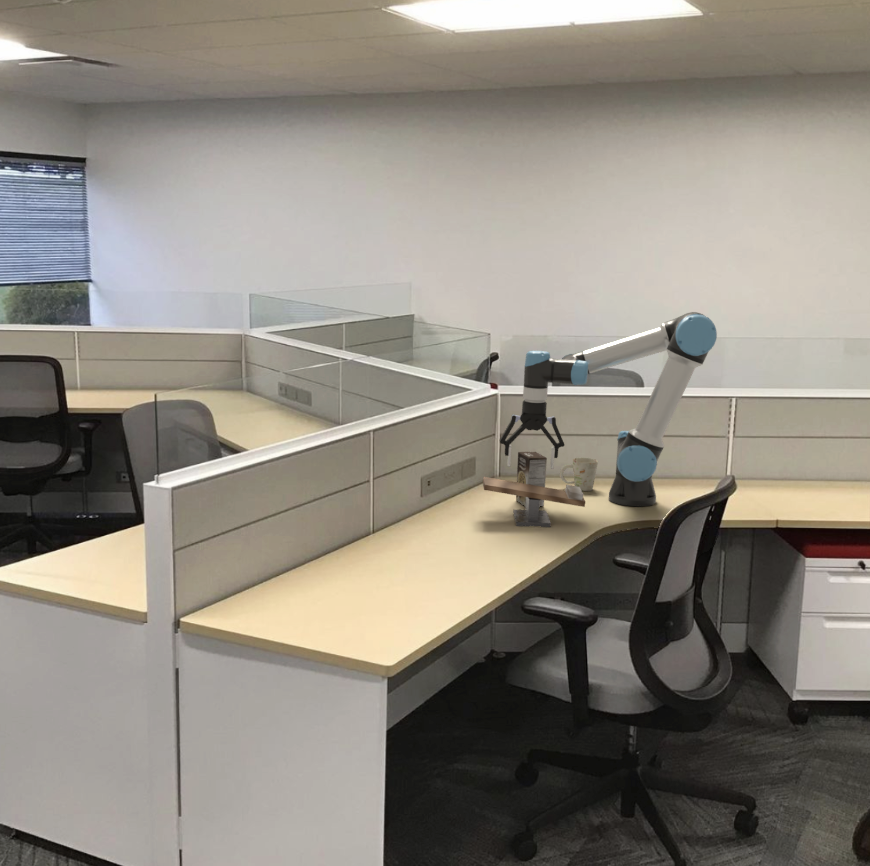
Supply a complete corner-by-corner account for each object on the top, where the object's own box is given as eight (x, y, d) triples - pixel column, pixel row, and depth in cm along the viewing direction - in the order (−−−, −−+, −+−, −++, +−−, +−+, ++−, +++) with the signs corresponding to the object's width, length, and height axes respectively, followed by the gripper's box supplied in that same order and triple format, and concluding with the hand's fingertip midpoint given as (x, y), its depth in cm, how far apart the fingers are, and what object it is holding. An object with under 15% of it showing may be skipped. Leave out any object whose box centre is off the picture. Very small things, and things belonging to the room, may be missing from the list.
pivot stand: (545, 514, 307) (547, 490, 306) (550, 527, 294) (551, 502, 292) (513, 513, 307) (514, 489, 306) (516, 526, 294) (517, 500, 292)
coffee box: (514, 500, 323) (517, 451, 319) (533, 499, 324) (535, 451, 321) (525, 508, 314) (528, 457, 311) (544, 507, 316) (547, 457, 313)
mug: (597, 492, 337) (599, 463, 335) (560, 491, 337) (561, 462, 335) (594, 486, 345) (596, 458, 343) (557, 485, 345) (559, 456, 343)
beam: (580, 498, 304) (582, 486, 304) (584, 506, 294) (586, 495, 294) (482, 481, 304) (484, 470, 303) (483, 489, 294) (486, 478, 293)
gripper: (573, 400, 317) (568, 466, 321) (494, 396, 317) (490, 462, 321) (576, 404, 309) (571, 471, 313) (495, 400, 309) (491, 467, 313)
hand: (530, 466), depth 317 cm, fingers open, 13 cm apart
